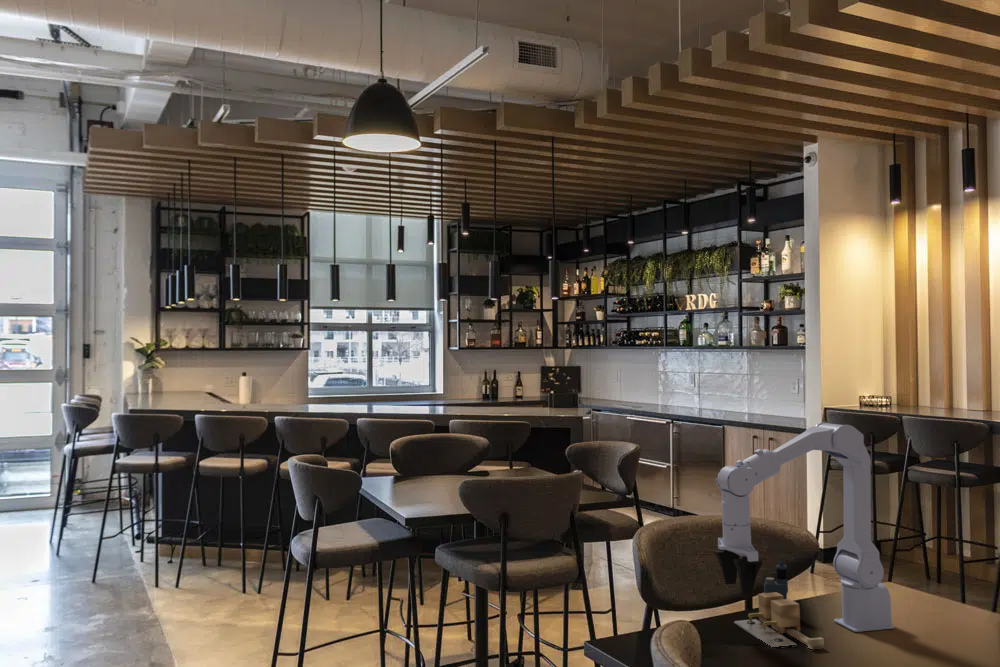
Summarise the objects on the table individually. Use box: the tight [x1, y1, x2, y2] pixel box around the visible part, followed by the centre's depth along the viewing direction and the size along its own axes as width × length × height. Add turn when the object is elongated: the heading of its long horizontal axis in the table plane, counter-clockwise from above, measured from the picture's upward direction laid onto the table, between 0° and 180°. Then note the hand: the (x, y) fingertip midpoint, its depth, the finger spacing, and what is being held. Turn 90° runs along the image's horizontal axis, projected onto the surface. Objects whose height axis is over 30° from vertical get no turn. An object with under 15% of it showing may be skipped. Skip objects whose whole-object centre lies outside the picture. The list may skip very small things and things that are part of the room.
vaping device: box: [763, 560, 789, 599], centre depth 189 cm, size 3×5×12 cm, turn 78°
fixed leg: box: [747, 592, 784, 623], centre depth 183 cm, size 8×3×6 cm, turn 101°
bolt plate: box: [733, 618, 797, 648], centre depth 176 cm, size 5×17×1 cm, turn 11°
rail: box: [768, 618, 825, 649], centre depth 176 cm, size 3×22×2 cm, turn 11°
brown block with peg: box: [763, 598, 801, 635], centre depth 177 cm, size 8×4×6 cm, turn 101°
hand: (738, 588), depth 174 cm, fingers open, 7 cm apart
